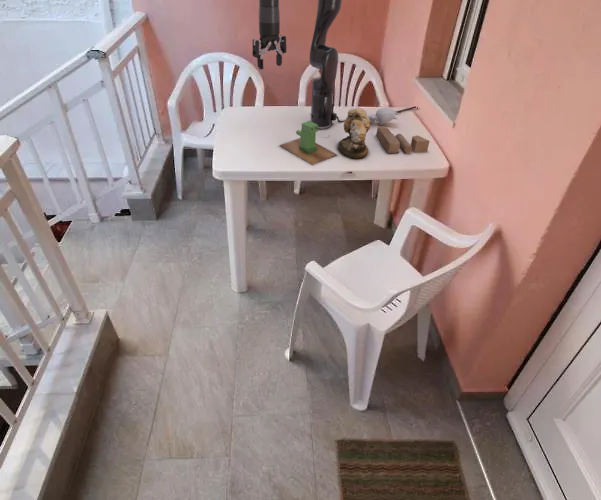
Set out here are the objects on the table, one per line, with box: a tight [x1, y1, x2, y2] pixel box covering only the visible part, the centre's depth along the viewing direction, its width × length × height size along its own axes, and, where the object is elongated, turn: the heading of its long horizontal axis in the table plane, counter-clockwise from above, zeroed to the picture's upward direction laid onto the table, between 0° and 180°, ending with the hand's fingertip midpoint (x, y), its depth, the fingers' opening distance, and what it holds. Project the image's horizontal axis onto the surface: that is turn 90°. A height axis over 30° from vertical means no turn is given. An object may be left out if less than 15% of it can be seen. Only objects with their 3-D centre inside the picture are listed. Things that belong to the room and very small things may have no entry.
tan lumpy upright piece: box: [337, 107, 371, 160], centre depth 164 cm, size 18×12×17 cm, turn 11°
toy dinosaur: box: [295, 120, 319, 154], centre depth 163 cm, size 11×5×12 cm
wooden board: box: [279, 137, 337, 165], centre depth 167 cm, size 13×20×1 cm, turn 40°
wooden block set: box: [375, 125, 430, 154], centre depth 173 cm, size 17×6×18 cm
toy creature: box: [367, 107, 401, 126], centre depth 188 cm, size 13×7×20 cm
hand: (270, 67), depth 159 cm, fingers open, 8 cm apart
